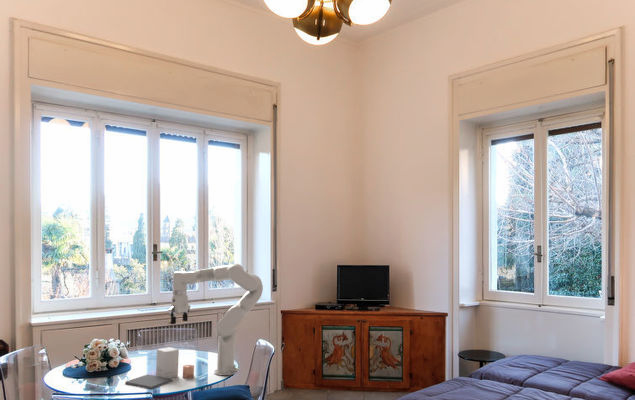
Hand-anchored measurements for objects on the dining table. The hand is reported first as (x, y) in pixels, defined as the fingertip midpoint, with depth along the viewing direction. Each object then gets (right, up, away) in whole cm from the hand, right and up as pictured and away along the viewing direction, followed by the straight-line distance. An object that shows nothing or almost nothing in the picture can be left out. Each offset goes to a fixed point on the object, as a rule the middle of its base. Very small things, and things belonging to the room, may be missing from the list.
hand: (179, 322), depth 303 cm
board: (-10, -27, -24) cm, 37 cm away
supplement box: (-4, -28, -12) cm, 30 cm away
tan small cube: (+8, -28, -12) cm, 31 cm away
